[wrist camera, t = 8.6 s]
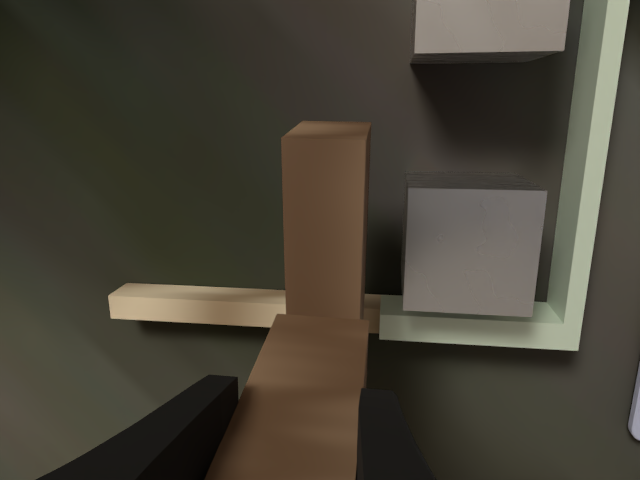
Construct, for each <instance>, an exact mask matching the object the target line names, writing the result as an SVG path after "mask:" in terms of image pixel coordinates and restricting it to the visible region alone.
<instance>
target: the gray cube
mask: <svg viewBox="0 0 640 480" xmlns="http://www.w3.org/2000/svg"><path fill="white" fill-rule="evenodd" d="M546 199H547V190H545V189H543V188H541V187H540V186H538V185H536V184H534V183H532V182H531V181H529V180H527V179H525V178H523V177H522V176H520V175H518V174H516V173H486V172H422V171H405V184H404V207H403V230H402V253H401V285H402V303H403V310H404V311H423V312H442V313H461V314H480V315H499V316H518V317H532V314H533V306H534V298H535V290H536V281H537V273H538V265H539V257H540V248H541V240H542V232H543V224H544V216H545V207H546Z"/></svg>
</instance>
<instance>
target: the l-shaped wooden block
mask: <svg viewBox="0 0 640 480" xmlns="http://www.w3.org/2000/svg"><path fill="white" fill-rule="evenodd" d="M370 141H371V122H330V121H302V122H301V123H299V124H298V125H297V126H296V127H294V128H293V129H292V130H291V131H289V132H288V133H287V134H286V135H284V136H283V137H282V138H281V148H282V185H283V223H284V260H285V298H286V314H277V315H276V317H275V319H274V321H273V324H272V326H271V328H270V331H269V333H268V335H267V337H266V340H265V342H264V344H263V347H262V349H261V351H260V353H259V356H258V358H257V360H256V363H255V365H254V367H253V369H252V372H251V374H250V376H249V379H248V381H247V383H246V385H245V388H244V390H243V392H242V395H241V397H240V399H239V401H238V405H237V407H236V409H235V412H234V414H233V416H232V418H231V421H230V423H229V425H228V428H227V430H226V432H225V434H224V437H223V439H222V441H221V443H220V445H219V447H218V449H217V452H216V454H215V456H214V459H213V461H212V463H211V465H210V468H209V470H208V472H207V475H206V477H205V479H204V480H356V472H357V434H358V408H359V399H360V393H361V388H366V382H367V359H368V335H369V320H364V298H365V272H366V245H367V219H368V193H369V167H370Z"/></svg>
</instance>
